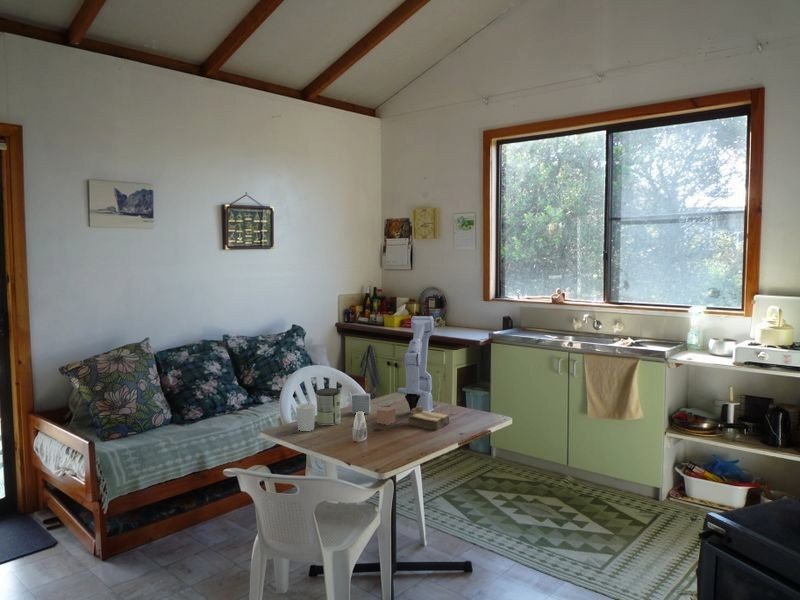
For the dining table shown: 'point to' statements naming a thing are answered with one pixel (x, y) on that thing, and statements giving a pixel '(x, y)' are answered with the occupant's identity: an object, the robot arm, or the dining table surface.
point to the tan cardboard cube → (386, 415)
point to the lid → (426, 414)
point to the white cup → (305, 417)
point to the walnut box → (428, 423)
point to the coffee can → (328, 406)
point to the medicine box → (361, 403)
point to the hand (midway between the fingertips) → (412, 411)
